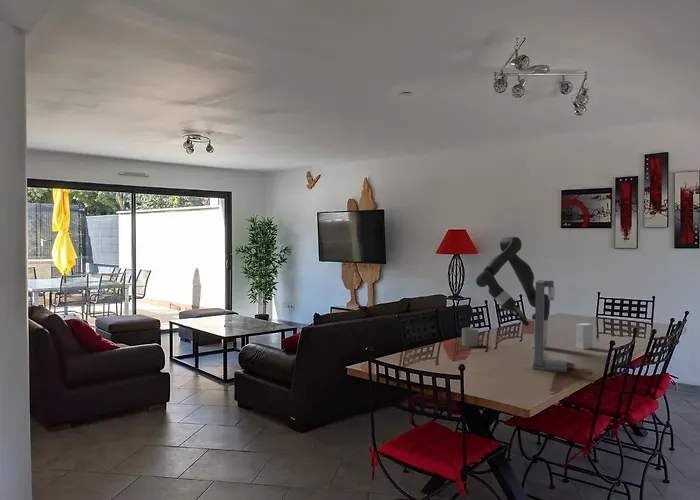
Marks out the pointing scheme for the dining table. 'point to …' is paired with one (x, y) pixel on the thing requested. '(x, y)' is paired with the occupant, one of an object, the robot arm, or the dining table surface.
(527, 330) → the pink block
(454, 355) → the dining table surface
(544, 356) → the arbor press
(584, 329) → the skincare box
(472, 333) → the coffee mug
